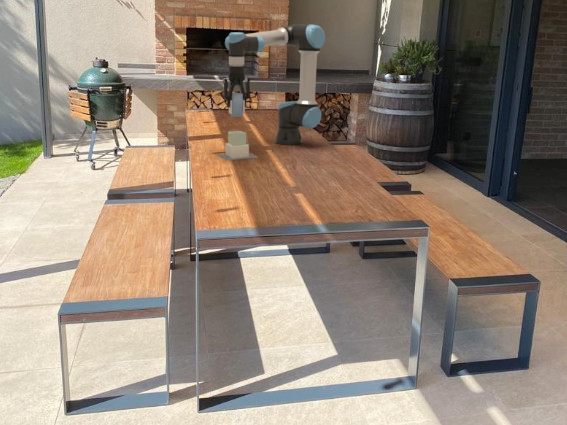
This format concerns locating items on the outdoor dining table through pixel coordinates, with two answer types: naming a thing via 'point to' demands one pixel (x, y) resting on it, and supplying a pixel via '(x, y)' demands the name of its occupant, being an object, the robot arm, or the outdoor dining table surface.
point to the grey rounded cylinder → (237, 104)
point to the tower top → (236, 138)
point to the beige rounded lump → (246, 138)
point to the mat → (235, 158)
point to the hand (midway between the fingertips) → (236, 113)
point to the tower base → (237, 151)
